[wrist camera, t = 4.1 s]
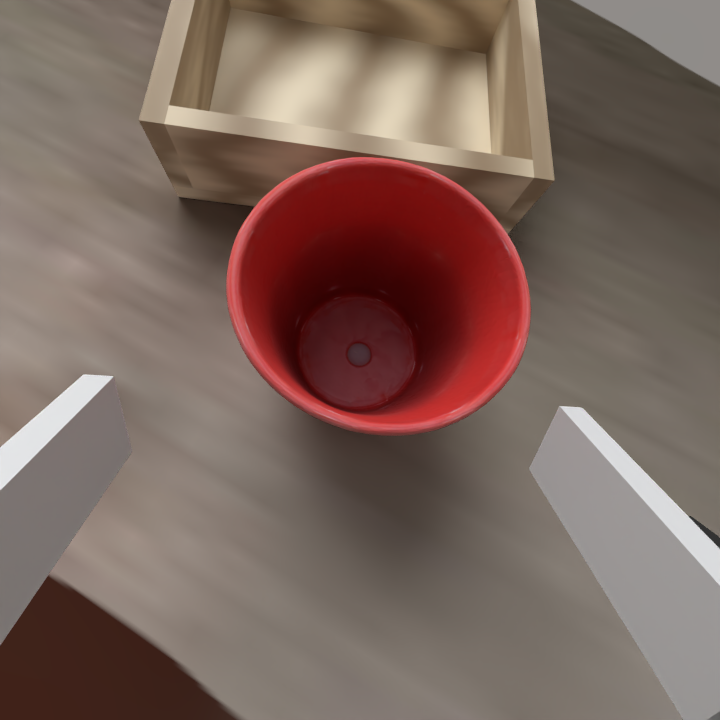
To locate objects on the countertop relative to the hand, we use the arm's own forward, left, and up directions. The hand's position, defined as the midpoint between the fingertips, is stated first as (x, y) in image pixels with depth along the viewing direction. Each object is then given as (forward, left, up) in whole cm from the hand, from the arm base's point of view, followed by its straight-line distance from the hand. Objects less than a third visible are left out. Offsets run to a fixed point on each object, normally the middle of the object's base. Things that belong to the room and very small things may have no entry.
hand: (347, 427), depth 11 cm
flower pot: (-1, -5, -10) cm, 11 cm away
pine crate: (0, -23, -10) cm, 25 cm away
